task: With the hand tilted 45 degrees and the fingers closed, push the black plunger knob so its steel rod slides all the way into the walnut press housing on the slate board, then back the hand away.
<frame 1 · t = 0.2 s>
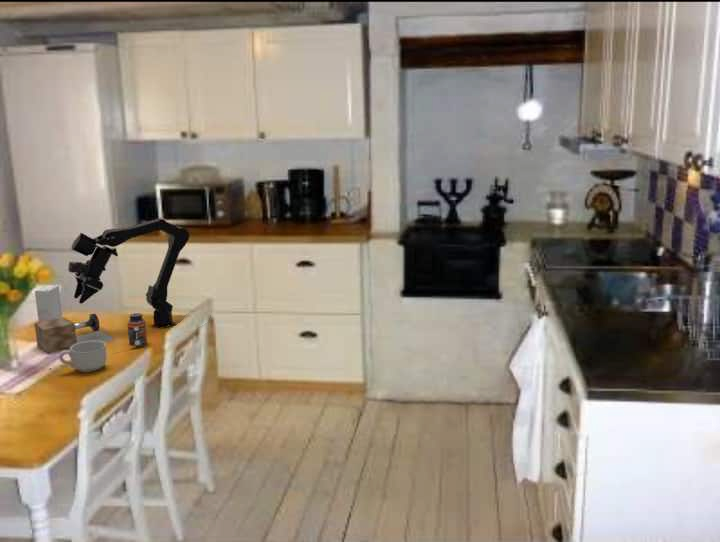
hand: (77, 300, 243), 15 cm above the table, tool tilted 35°, fingers open, 9 cm apart
slate board: (76, 345, 241), on the table
press housing: (57, 346, 237), resting on slate board
skincare box: (51, 324, 269), on the table
supplement bottle: (138, 346, 239), on the table
plunger: (81, 325, 241), point 7 cm above the table, slide at 0.0 cm
teacup: (85, 370, 216), on the table
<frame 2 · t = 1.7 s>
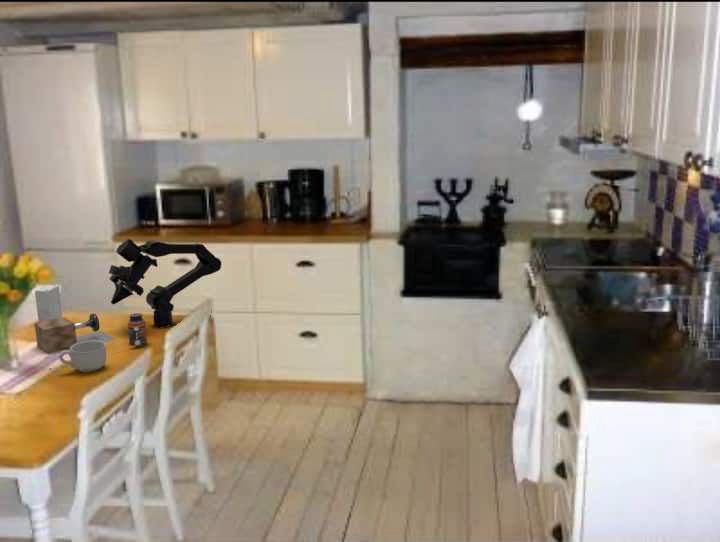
hand: (112, 303, 247), 12 cm above the table, tool tilted 45°, fingers closed
nothing on the table moved.
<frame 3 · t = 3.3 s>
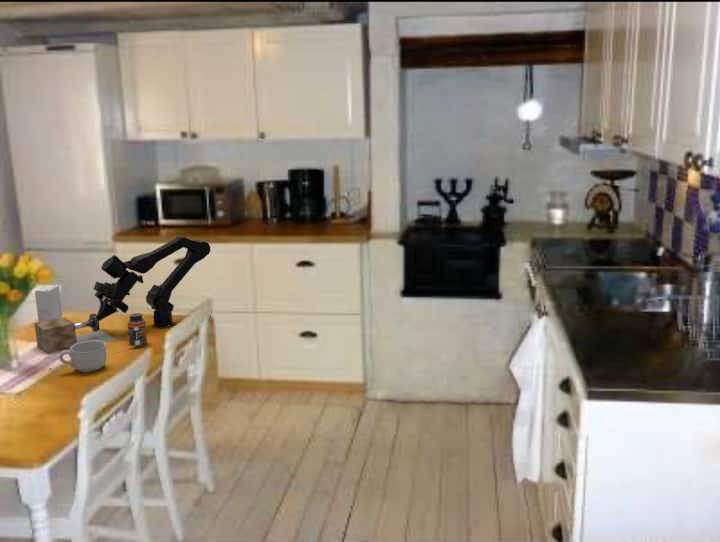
hand: (96, 320, 245), 7 cm above the table, tool tilted 45°, fingers closed, pressing on plunger
plunger: (81, 325, 241), point 7 cm above the table, slide at 0.0 cm, touching gripper
everything else where it was.
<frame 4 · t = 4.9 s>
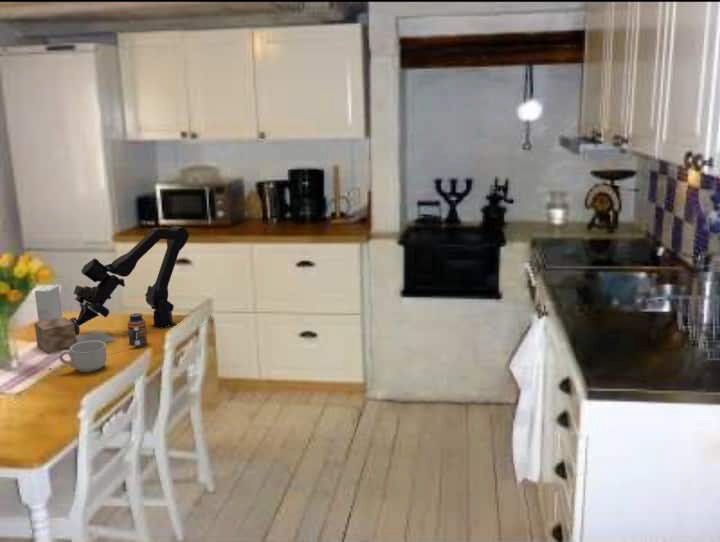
hand: (77, 325, 240), 7 cm above the table, tool tilted 45°, fingers closed
plunger: (60, 329, 237), point 7 cm above the table, slide at 7.0 cm
everything else where it was.
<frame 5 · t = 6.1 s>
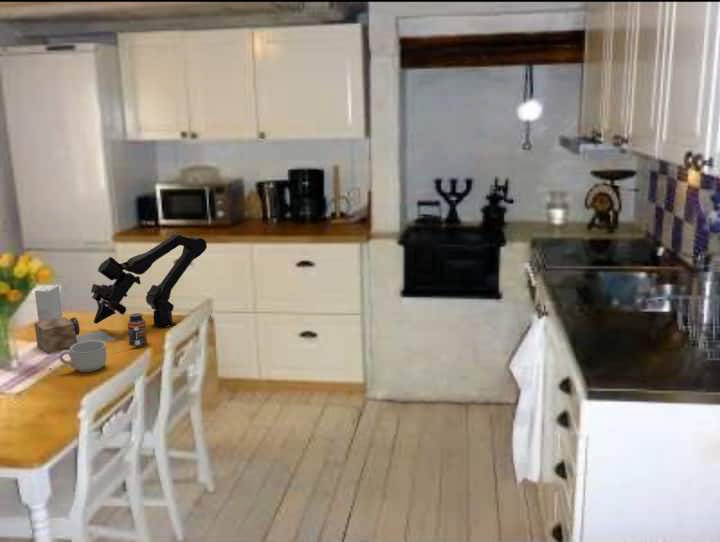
hand: (94, 323, 244), 7 cm above the table, tool tilted 45°, fingers closed
nothing on the table moved.
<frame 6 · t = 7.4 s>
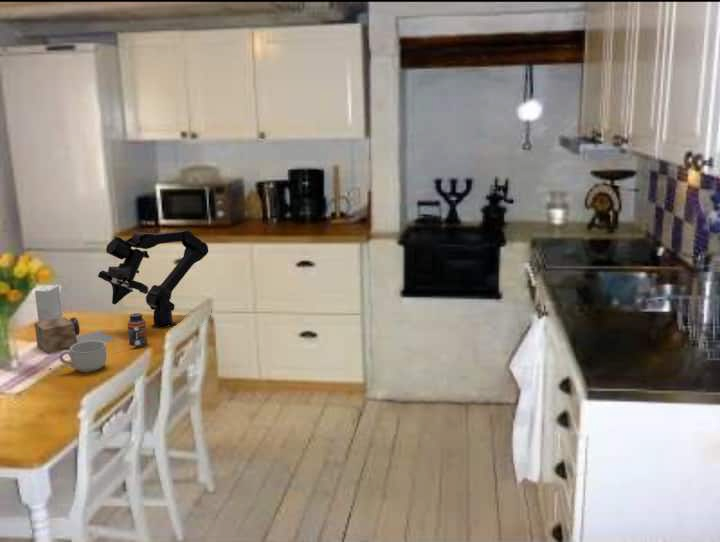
hand: (113, 304, 245), 13 cm above the table, tool tilted 35°, fingers closed
nothing on the table moved.
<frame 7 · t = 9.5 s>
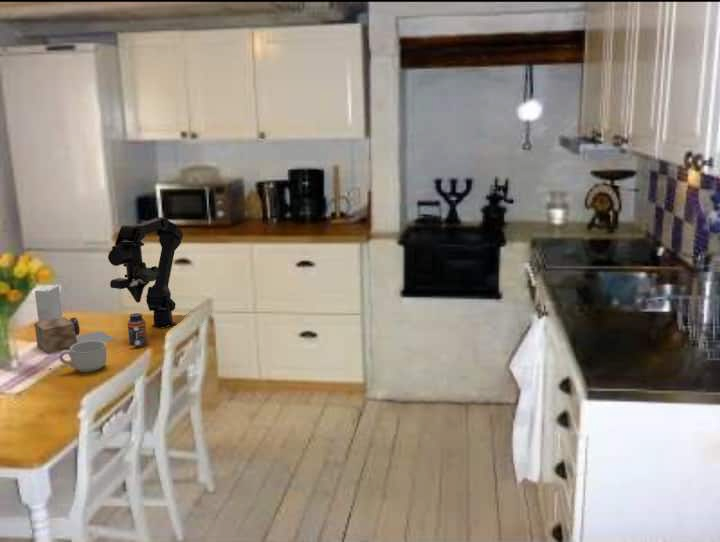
hand: (138, 302, 246), 13 cm above the table, tool pointing down, fingers closed
nothing on the table moved.
at the end: plunger slide at 7.0 cm; the gripper is holding nothing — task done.
